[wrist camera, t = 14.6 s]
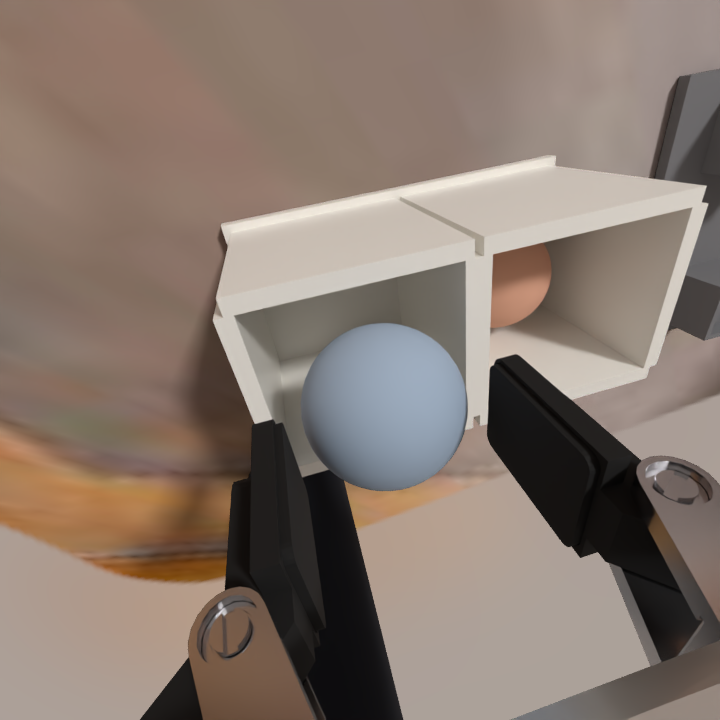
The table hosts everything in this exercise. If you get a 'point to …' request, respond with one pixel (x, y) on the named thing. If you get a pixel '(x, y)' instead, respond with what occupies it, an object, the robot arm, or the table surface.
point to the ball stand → (716, 171)
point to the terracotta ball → (518, 283)
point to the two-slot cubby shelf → (459, 280)
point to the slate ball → (384, 407)
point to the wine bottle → (346, 615)
